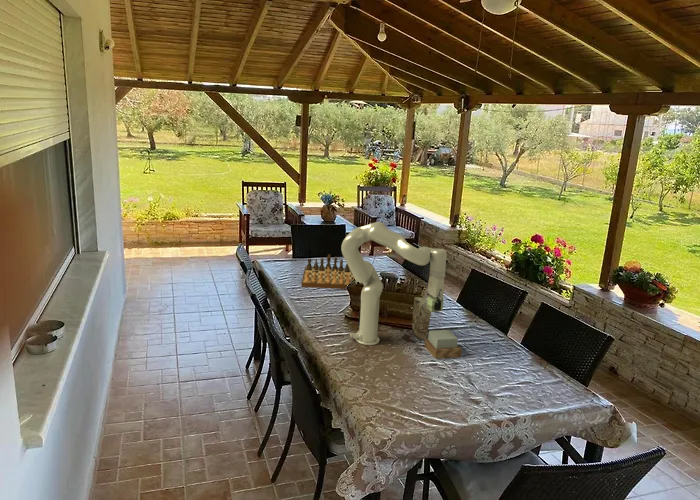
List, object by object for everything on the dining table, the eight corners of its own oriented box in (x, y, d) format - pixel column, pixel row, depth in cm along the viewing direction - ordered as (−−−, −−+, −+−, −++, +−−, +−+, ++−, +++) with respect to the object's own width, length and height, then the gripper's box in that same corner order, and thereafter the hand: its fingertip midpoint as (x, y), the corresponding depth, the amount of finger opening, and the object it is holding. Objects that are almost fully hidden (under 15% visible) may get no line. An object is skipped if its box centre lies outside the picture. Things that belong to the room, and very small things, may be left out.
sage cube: (431, 311, 261) (432, 300, 259) (426, 307, 266) (427, 296, 265) (442, 311, 262) (443, 299, 261) (437, 307, 268) (438, 295, 266)
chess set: (360, 290, 356) (361, 269, 352) (301, 287, 354) (302, 266, 350) (357, 273, 394) (359, 254, 391) (304, 270, 393) (305, 251, 389)
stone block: (430, 339, 283) (433, 304, 278) (418, 339, 281) (421, 305, 276) (419, 329, 295) (423, 295, 290) (408, 330, 293) (411, 296, 288)
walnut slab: (435, 359, 260) (436, 350, 259) (424, 347, 273) (425, 339, 272) (460, 358, 264) (461, 349, 263) (448, 346, 277) (449, 337, 276)
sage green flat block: (436, 348, 261) (437, 339, 260) (428, 339, 271) (429, 330, 270) (456, 347, 264) (457, 338, 263) (447, 338, 274) (448, 329, 273)
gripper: (423, 269, 267) (421, 302, 271) (437, 279, 251) (434, 314, 255) (437, 268, 269) (434, 301, 273) (451, 278, 253) (448, 313, 257)
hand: (434, 307), depth 264 cm, fingers closed on sage cube, 6 cm apart
